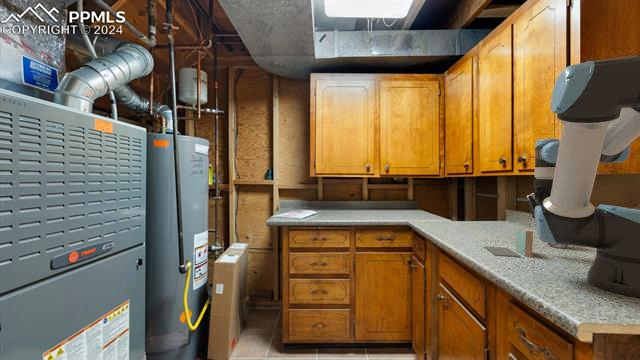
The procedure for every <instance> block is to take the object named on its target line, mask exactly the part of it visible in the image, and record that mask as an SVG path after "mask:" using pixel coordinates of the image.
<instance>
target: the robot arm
mask: <svg viewBox="0 0 640 360" xmlns="http://www.w3.org/2000/svg"><path fill="white" fill-rule="evenodd" d="M550 100H551V101H550V110H551V112H552V113H553V114H556V119H557V120H558V122H560V123H562V127H561V134H560V139H558V138H542V139H538V140H536V142H535V146H534V152H535V154H534V176H533V177H534V180H533V188H534V189H533V191H532V193H531V194H529V195H528V194H527V195H526V196H525V198H526V200H527V201H528V204H529V208H530V212H531V213H530V214H531V217H532V218H533V219H534V220H535V227H536V233H537V236H538V239H539V240H540V241H541V242H543V243H546V244H548V243H552V244H556V245H558V244H560V245H568V246H571V247H579V248H589V249H596V253H595V257H594V259H593V262H592V263H591V265H590V266H589V269H588V271H587V275H586V281H587V282H588V283H590V284H592V285H593V286H595V287H598V288H601V289H603V290H605V291H610V292H612V293H615V294H621V295H625V296H629V297H635V298H640V209H637V208H636V209H635V208H631V207H624V206H617V205H609V204H601V203H600V204H599V205H598V206H597V208H595V206H594V205H593V204H592V203H591V202H590V200H591V197H592V196H591V195H592V192H593V188H594V184H595V180H596V177H597V176H596V175H597V171H598V169H599V164H614V163H623V162H625V161H627V160H628V159H629V158H628V157H629V156H630V153H631V147H630V145H631V144H632V143H633V142H634V141H635V140H636V139H638V137H640V54H637V55H631V56H630V55H629V56H621V57H614V58H606V59H599V60H598V59H597V60H588V61H586V62H585V61H584V62H579V63H576V64H571V65H568V66H567V67H564V69H563V70H562V71H561V72H560V74H558V76H557V79H556V81H555V83H554V86H553V89H552V93H551V99H550ZM535 199H536V200H537V201H536V200H535ZM536 202H537V203H536Z"/></svg>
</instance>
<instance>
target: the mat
mask: <svg viewBox="0 0 640 360" xmlns="http://www.w3.org/2000/svg"><path fill="white" fill-rule="evenodd" d="M483 248H484V249H486V250H487V251H488V252H490V253H491V254H492V255H494V256H495V257H496V256H497V257H513V258H522V256H521V255H520V254H518V252H516V251H514V250H512V249H510V248H508V247H502V246H501V247H500V246H483Z"/></svg>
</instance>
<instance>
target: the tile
mask: <svg viewBox="0 0 640 360" xmlns="http://www.w3.org/2000/svg"><path fill="white" fill-rule="evenodd" d="M515 228H516V229H515V230H516V232H515V252H517V253H520V254H521V255H523V256H525V257H531V258H532V257H533V245H534V244H533V243H534V231H533V230H531V229H529V228H526V227H524V226H522V227H521V226H520V227H519V226H517V227H515Z"/></svg>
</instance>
